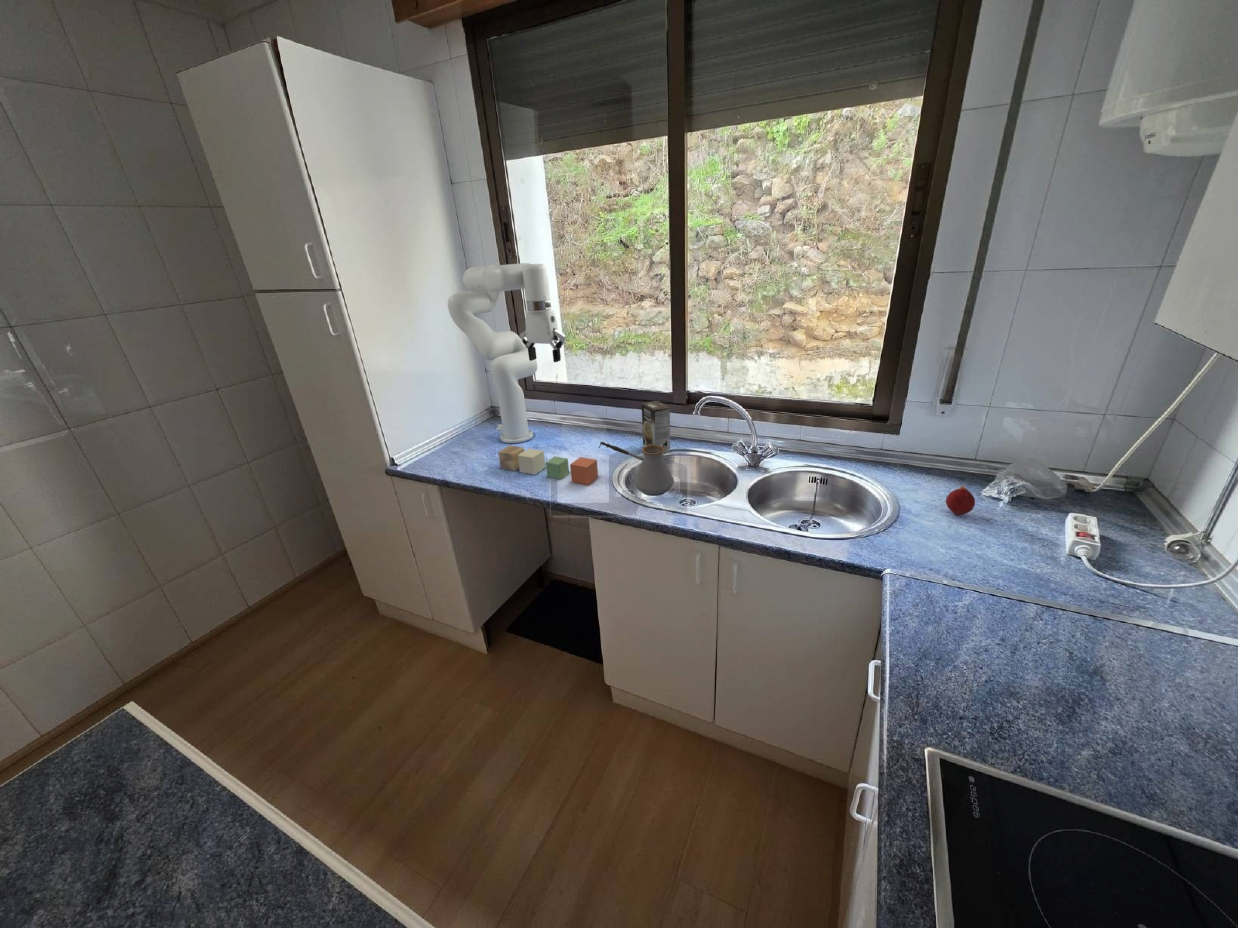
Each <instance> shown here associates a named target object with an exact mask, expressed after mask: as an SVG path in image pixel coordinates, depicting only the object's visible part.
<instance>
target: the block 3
mask: <svg viewBox="0 0 1238 928" xmlns="http://www.w3.org/2000/svg"><path fill="white" fill-rule="evenodd" d="M569 468H570V469H569V470H570V477H571V483H574V484H580V485H585V486H589V485H591V484H592V483H593V482H595V481H596V480H597V479H598V478H599V468H598V460H597V459H595V458H588V457H583V456H580V457H578V458H577V459H576V460H574V461H573V462H571V463H570V464H569Z"/></svg>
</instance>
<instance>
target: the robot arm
mask: <svg viewBox="0 0 1238 928" xmlns="http://www.w3.org/2000/svg"><path fill="white" fill-rule="evenodd" d="M462 275H463V276H462V282H463V285H464V286H465V288H466V289H468V290H463V291H459V292H455V293H453V294H452V295H450V296H449V298H448V299H447V309H448V313H449V316H450V318H451V319H452V322H454V324H455V325H456V326H457V327H458V328H459V330H461V332H463V334H465V335H466V336H467V337H468V339H469V340H470V342H471V343H472V344H473V346H474V347H475V348H476V349H477V351H478V352H479V353H480V354H481V356H482V357H483V358H484V359H485V360H487V361H491V362H490V364H489V366H490V367H489V370H490V374H491V377H492V379H493V382H494V386H495V389H496V390H495V391H496V395H497V400H498V407H499V413H500V418H501V419H500V421H501V423H500V424H498V425H497V428H496V429H495V430H496V431H497V432H501V435H499V439H500V441H501V442H503V443H505V444H519V443H523V442H527V441H530V440H531V439H532V438H534V431H533V430H530V428H529V423H528V422H529V421H528V416H527V408H526V402H525V395H524V390H523V388H522V387H521V386H520V384H519V383H518V382H517V381H518V380H521V379H525V378H528V377H531V376H533V375H535V374H536V373H537V371H538V362H537V350H536V347H535V345H536V344H544V345H545V344H546V345H550V346H551V347H552V351H551V352H552V360H553V363H558V362H560V361H562V360H561V359H562V358H561V357H562V355H561V349H562V347H563V346H564V344H565V340H566V335H565V334H564V333H563V332H561V331H560V330H559V327H558V321H557V317H556V314H555V311H554V310H553V309H552V308H553V307H554V303H553V302H551V295H550V287H549V278H548V276H549V275H548V269H547V266H546V264H543V263H528V262H522V263H510V264H509V263H508V264H500V265H497V264H487V265H486V264H485V265H478V266H472V267H469V268H468V269H466V270H465V271H464V272H463V274H462ZM516 290H524V298H525V306H526V311H525V321H524V322H525V330H523V331H522V332H520V334H519V335H518V334H517V333H516V332H515V331H512V330H503V331H493V329H491V327H490V326H489V324H488V323H487V322H486V321H484V320H483V319H481V318H479V317H477V316H476V315H480V314H487V313H490V312H492V311H494V310H495V308H496V307H497V306H498V303H499V301H500V298H501V296H502V294H503V292H509V291H516Z"/></svg>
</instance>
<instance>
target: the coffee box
mask: <svg viewBox="0 0 1238 928" xmlns="http://www.w3.org/2000/svg"><path fill="white" fill-rule="evenodd" d="M640 405H641V428H642V446H643V447H642V448H644V447H646V446H650V445H658V446H661V447H663V448H664V449H665V451H664V452H663V454H665V453H669V452H671V407H670V406H668V405H667V404H664V403H663V402H660V401H659V400H654V401H647V402H646V401H645V402H642V403H641V404H640Z"/></svg>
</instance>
